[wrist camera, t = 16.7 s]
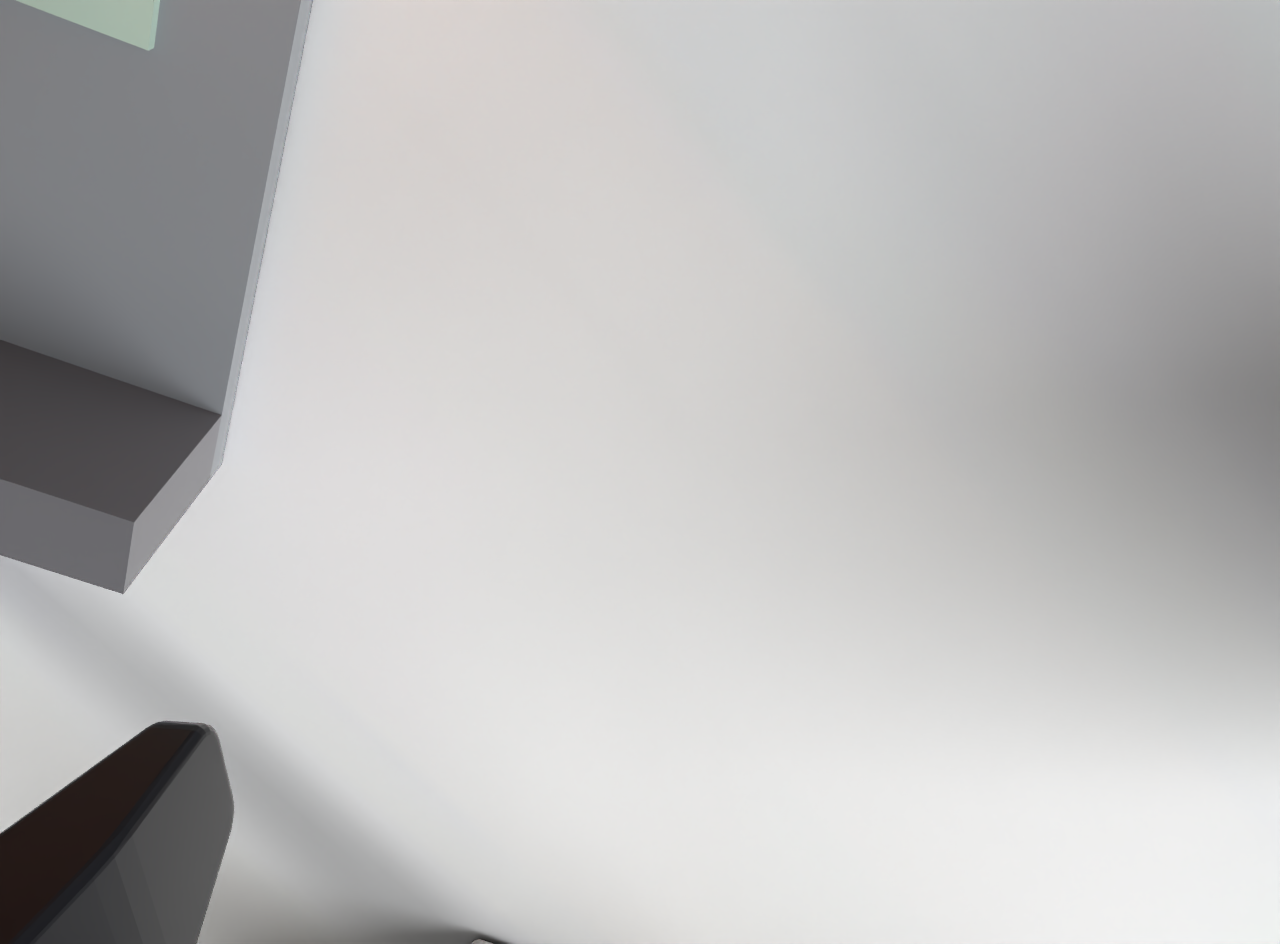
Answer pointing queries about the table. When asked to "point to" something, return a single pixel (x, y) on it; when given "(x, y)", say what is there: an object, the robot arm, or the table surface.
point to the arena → (129, 260)
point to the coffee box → (480, 942)
